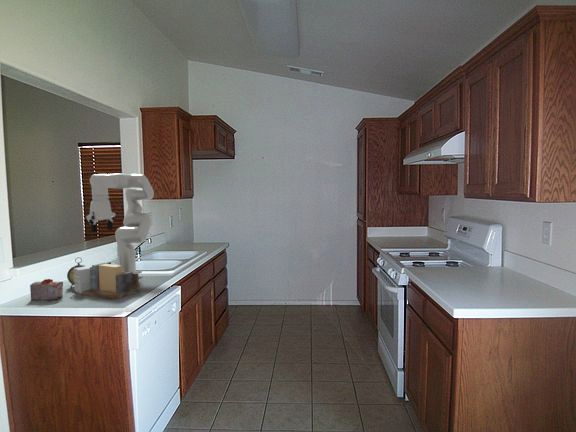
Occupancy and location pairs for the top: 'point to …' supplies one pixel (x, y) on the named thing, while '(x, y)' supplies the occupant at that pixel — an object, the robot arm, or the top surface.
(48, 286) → the food item
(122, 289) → the shelf
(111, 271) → the book
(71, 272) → the alarm clock
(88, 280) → the supplement box
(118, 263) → the robot arm
